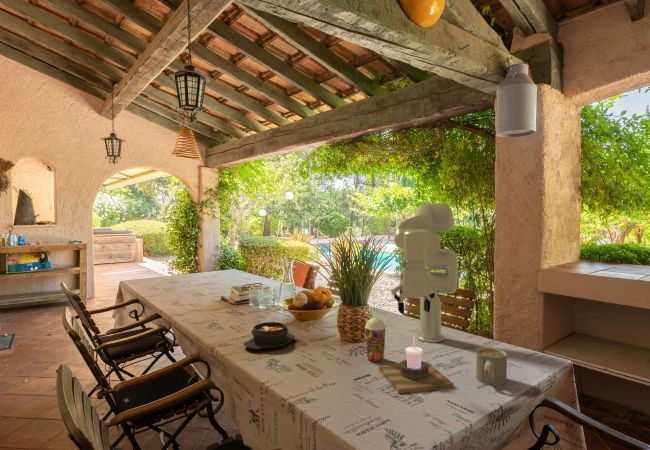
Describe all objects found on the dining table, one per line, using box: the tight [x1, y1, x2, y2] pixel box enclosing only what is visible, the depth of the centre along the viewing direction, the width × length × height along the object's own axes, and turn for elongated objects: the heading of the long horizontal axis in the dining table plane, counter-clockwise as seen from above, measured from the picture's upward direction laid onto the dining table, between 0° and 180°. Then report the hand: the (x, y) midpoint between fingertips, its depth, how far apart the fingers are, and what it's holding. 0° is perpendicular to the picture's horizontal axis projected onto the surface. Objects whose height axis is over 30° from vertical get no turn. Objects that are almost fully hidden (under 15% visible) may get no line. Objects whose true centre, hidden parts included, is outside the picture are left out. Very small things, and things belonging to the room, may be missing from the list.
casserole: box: [243, 321, 296, 350], centre depth 181 cm, size 25×19×8 cm
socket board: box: [378, 359, 454, 394], centre depth 144 cm, size 20×20×5 cm
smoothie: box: [364, 310, 387, 363], centre depth 161 cm, size 8×8×20 cm
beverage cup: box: [405, 335, 424, 369], centre depth 144 cm, size 6×6×14 cm
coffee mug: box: [475, 347, 508, 387], centre depth 141 cm, size 13×10×10 cm
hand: (414, 312), depth 143 cm, fingers open, 9 cm apart
